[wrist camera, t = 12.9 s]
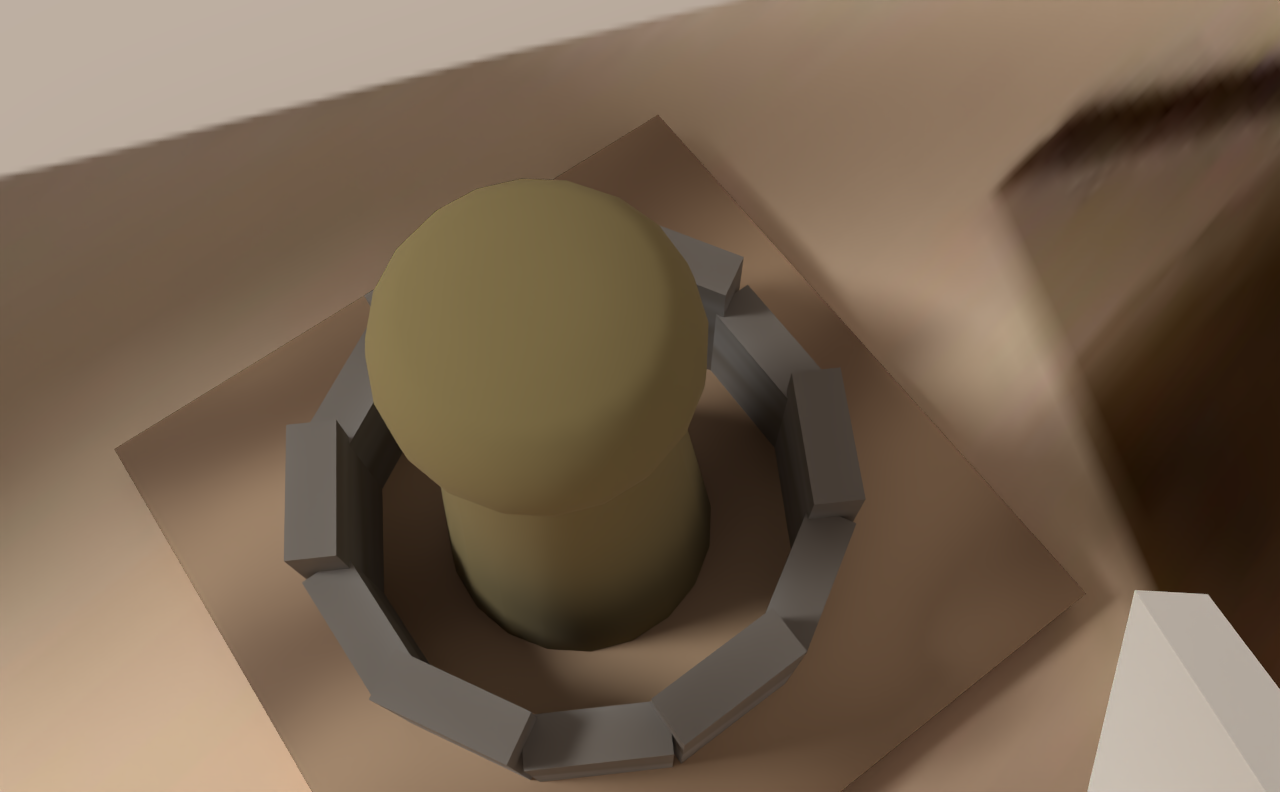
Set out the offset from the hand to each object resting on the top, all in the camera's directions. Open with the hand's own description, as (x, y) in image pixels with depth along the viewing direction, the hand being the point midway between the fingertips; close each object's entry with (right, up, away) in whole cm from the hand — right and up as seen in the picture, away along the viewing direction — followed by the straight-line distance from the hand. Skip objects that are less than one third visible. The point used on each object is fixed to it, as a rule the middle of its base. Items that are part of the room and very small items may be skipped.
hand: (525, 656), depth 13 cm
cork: (0, 0, +13) cm, 13 cm away
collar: (0, 0, +14) cm, 14 cm away
